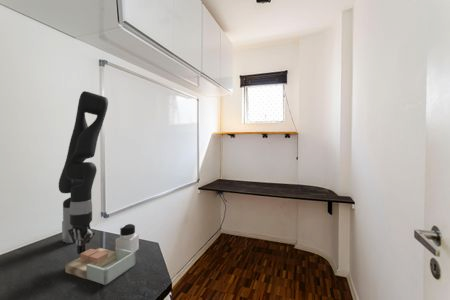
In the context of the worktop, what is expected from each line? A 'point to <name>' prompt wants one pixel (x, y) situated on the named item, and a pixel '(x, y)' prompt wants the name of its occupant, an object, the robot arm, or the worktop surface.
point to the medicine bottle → (128, 238)
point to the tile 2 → (98, 257)
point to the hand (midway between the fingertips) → (81, 253)
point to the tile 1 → (87, 254)
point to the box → (111, 267)
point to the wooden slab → (79, 265)
